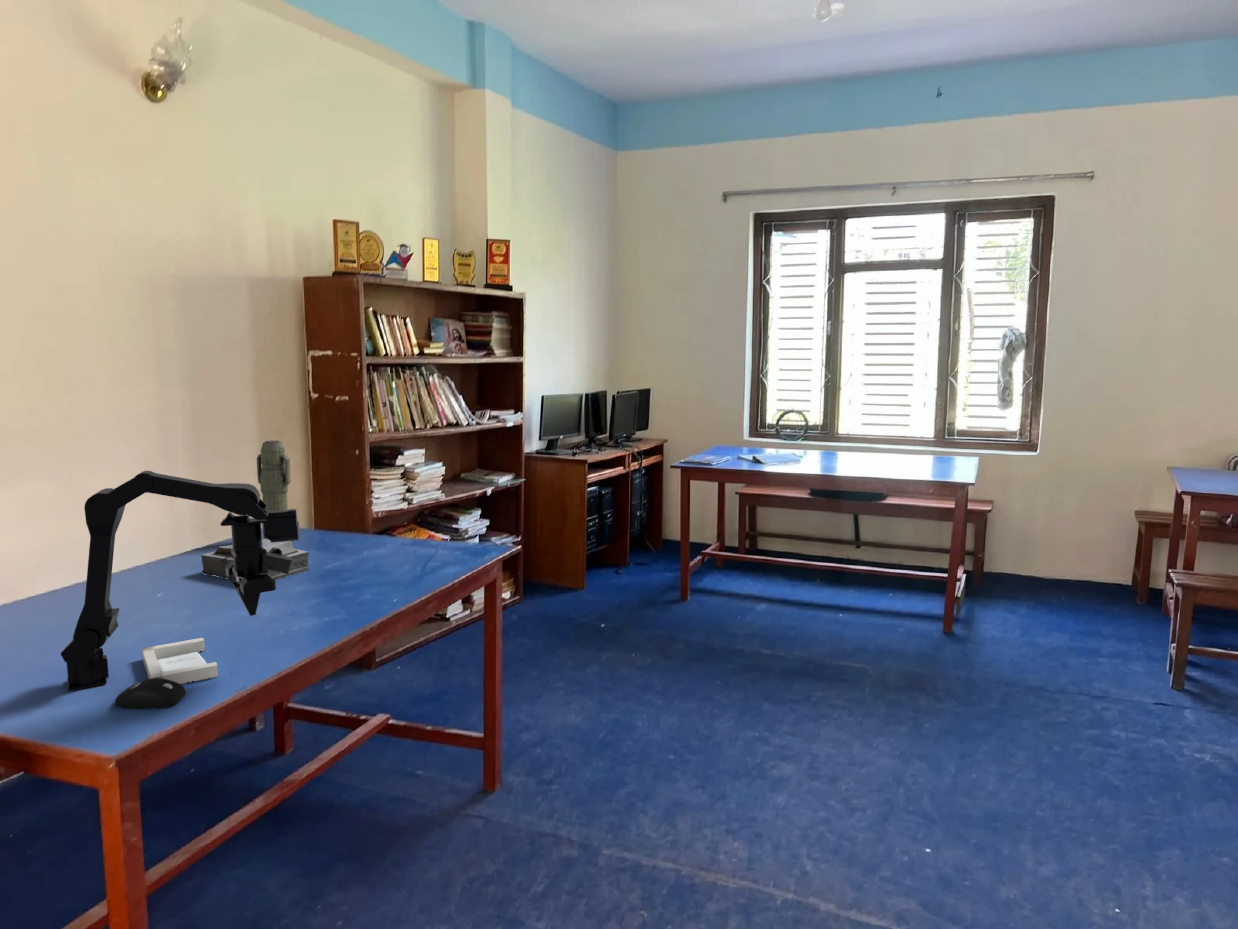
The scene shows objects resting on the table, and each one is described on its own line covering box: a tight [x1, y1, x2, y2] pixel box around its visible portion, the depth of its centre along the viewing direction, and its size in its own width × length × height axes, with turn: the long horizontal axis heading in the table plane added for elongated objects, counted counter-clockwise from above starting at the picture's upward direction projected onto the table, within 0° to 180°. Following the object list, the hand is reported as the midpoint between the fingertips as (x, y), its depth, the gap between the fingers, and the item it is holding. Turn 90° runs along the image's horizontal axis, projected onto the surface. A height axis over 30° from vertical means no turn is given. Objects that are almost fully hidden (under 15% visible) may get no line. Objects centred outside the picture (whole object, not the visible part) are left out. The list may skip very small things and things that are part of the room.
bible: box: [200, 538, 310, 582], centre depth 244 cm, size 23×27×10 cm
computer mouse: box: [114, 678, 187, 710], centre depth 156 cm, size 8×12×4 cm, turn 95°
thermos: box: [256, 440, 291, 539], centre depth 282 cm, size 9×12×35 cm
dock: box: [141, 637, 219, 685], centre depth 172 cm, size 12×19×2 cm, turn 35°
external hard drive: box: [157, 652, 208, 672], centre depth 172 cm, size 2×8×12 cm
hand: (252, 615), depth 173 cm, fingers closed
